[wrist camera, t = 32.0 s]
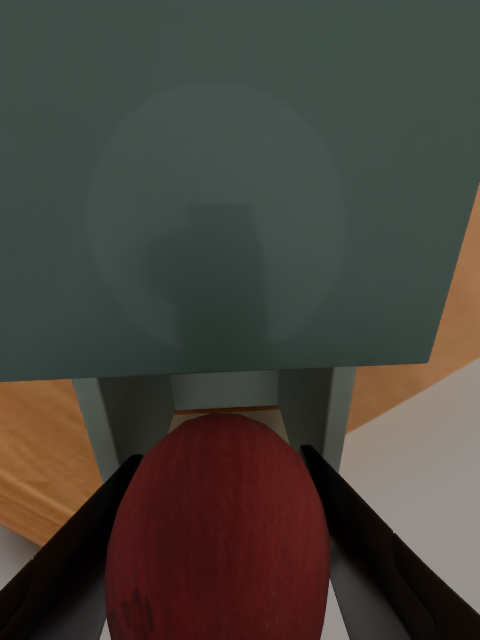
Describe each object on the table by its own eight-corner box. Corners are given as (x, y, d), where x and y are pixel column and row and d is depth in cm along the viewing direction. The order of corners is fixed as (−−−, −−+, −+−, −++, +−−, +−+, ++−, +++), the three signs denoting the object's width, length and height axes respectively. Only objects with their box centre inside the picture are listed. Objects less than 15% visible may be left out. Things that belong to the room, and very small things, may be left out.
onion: (193, 488, 12) (130, 959, 4) (129, 399, 10) (-213, 977, 2) (305, 448, 11) (474, 901, 4) (261, 346, 9) (421, 849, 2)
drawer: (289, 464, 21) (330, 616, 13) (169, 472, 20) (130, 633, 12) (302, 278, 15) (391, 329, 7) (138, 283, 15) (27, 343, 7)
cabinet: (306, 285, 16) (429, 364, 6) (136, 290, 16) (-18, 384, 6) (325, 41, 12) (777, -848, 2) (92, 38, 12) (-703, -1125, 2)
